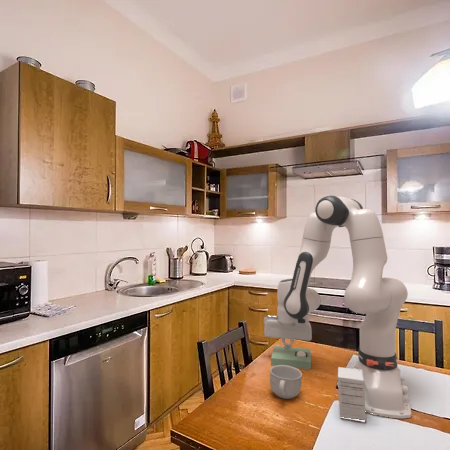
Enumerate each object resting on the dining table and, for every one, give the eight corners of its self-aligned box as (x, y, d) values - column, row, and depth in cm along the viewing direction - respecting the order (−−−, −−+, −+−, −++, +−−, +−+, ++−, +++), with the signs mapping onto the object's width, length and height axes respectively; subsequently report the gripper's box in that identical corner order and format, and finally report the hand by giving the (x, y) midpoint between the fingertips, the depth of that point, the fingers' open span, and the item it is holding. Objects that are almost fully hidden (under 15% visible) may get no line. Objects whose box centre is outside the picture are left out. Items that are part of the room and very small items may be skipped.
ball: (306, 354, 134) (296, 351, 135) (305, 363, 134) (295, 361, 135) (306, 350, 138) (297, 348, 139) (305, 359, 138) (296, 357, 139)
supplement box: (339, 405, 103) (337, 366, 103) (364, 409, 100) (363, 369, 100) (339, 419, 96) (337, 376, 96) (366, 423, 93) (364, 380, 93)
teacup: (277, 383, 118) (276, 361, 118) (306, 391, 112) (306, 368, 112) (261, 401, 106) (261, 377, 106) (293, 411, 100) (292, 385, 100)
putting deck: (311, 369, 129) (311, 361, 129) (271, 365, 133) (271, 358, 133) (310, 355, 142) (310, 348, 142) (274, 352, 146) (274, 345, 146)
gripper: (262, 316, 138) (262, 348, 138) (311, 320, 133) (312, 353, 133) (264, 312, 144) (264, 343, 144) (311, 316, 139) (311, 347, 139)
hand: (287, 348), depth 138 cm, fingers closed
